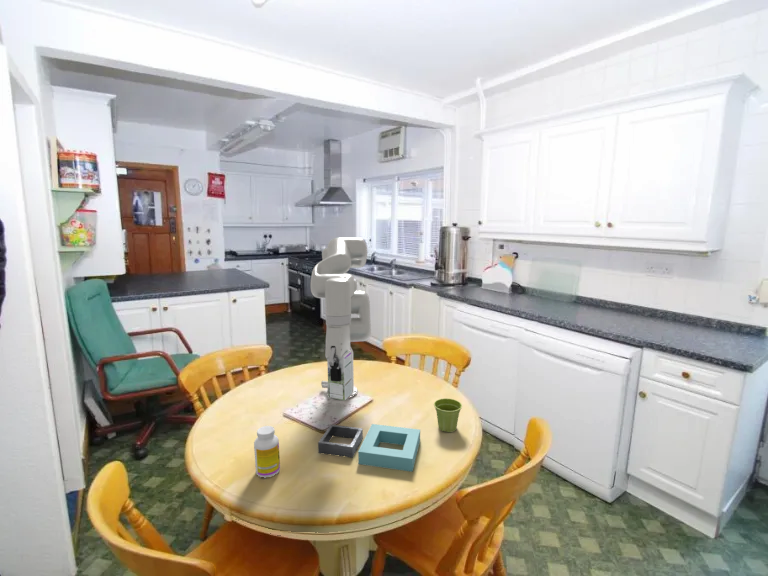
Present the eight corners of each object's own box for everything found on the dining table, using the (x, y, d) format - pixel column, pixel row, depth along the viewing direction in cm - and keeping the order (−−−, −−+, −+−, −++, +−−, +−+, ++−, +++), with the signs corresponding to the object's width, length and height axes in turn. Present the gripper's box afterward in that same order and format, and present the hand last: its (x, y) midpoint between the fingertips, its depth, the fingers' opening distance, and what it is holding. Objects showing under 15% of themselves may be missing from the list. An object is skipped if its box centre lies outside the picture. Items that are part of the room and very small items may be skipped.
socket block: (358, 464, 115) (358, 451, 114) (372, 435, 130) (372, 423, 130) (412, 471, 111) (412, 458, 111) (420, 441, 127) (420, 429, 126)
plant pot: (444, 438, 128) (444, 413, 127) (428, 425, 137) (428, 401, 135) (466, 431, 133) (467, 407, 131) (449, 418, 141) (450, 396, 139)
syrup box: (352, 393, 123) (351, 349, 121) (344, 401, 118) (343, 355, 115) (336, 390, 125) (335, 347, 123) (327, 398, 120) (326, 353, 117)
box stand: (318, 453, 120) (318, 442, 120) (331, 434, 131) (330, 424, 130) (352, 457, 118) (352, 447, 117) (362, 438, 128) (362, 428, 128)
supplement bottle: (283, 473, 111) (281, 431, 108) (259, 482, 107) (256, 439, 105) (276, 461, 116) (273, 421, 114) (253, 469, 113) (250, 428, 110)
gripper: (336, 311, 126) (337, 364, 130) (315, 326, 110) (317, 386, 113) (358, 313, 125) (359, 366, 128) (341, 328, 108) (342, 389, 111)
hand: (339, 375), depth 120 cm, fingers closed on syrup box, 6 cm apart
